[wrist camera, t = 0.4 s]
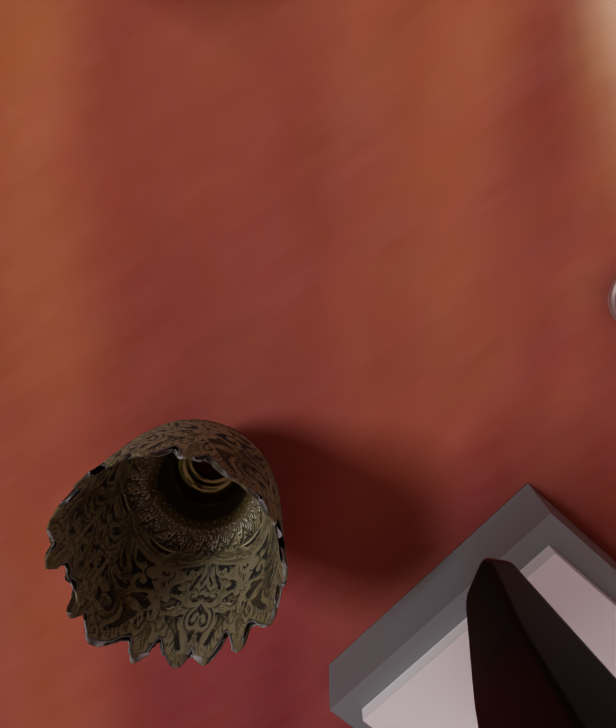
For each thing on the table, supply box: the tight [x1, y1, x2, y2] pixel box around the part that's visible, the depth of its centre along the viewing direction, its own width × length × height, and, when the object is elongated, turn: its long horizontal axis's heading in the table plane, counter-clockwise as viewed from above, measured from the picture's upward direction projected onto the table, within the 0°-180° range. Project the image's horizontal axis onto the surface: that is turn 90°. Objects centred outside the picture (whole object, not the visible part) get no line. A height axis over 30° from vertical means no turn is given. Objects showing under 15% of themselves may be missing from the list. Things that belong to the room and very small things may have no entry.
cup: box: [45, 419, 288, 668], centre depth 21 cm, size 8×7×8 cm
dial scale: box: [329, 483, 616, 728], centre depth 26 cm, size 14×16×3 cm
